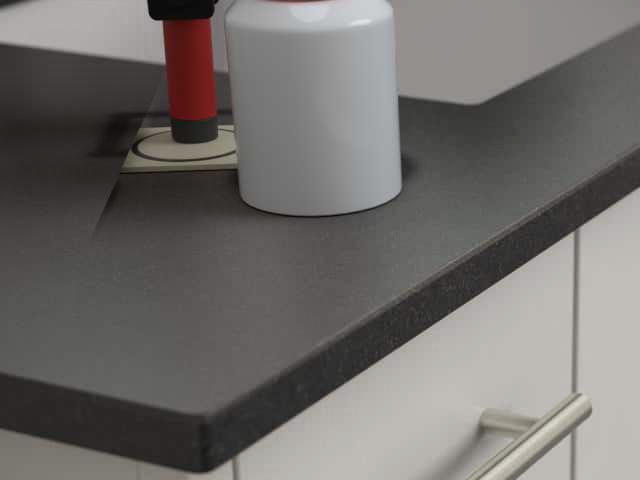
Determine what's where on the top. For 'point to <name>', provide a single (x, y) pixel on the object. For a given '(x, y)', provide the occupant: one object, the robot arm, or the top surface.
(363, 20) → the pill bottle
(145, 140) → the coaster
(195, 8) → the robot arm
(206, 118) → the marker
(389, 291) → the top surface
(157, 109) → the top surface
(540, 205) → the top surface
